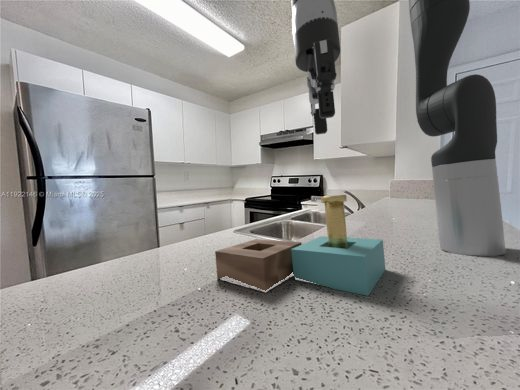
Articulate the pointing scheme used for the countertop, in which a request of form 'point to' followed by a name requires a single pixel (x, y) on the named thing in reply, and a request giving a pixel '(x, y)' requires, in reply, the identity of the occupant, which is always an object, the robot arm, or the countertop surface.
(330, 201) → the brass pin
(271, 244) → the block
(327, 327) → the countertop surface
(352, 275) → the socket block
